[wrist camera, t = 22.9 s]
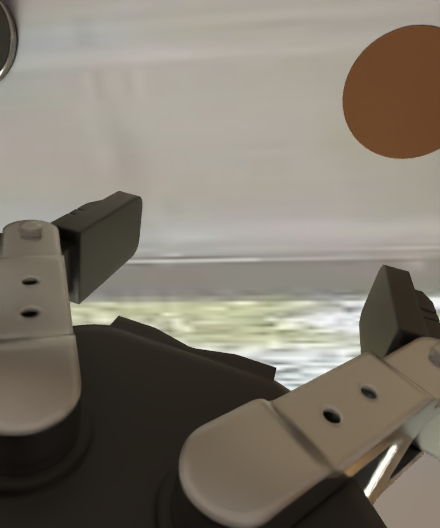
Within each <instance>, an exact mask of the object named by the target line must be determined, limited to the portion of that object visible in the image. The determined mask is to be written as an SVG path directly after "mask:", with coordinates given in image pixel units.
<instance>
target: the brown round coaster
mask: <svg viewBox="0 0 440 528" xmlns="http://www.w3.org/2000/svg"><path fill="white" fill-rule="evenodd" d="M343 110H344V116H345V119H346V123H347V125H348V127H349V129H350V131H351V132H352V134H353V135H354V137H355V138H356V139H357V140H358V141H359V142H360V143H361V144H362V145H363V146H364V147H366V148H367V149H369V150H370V151H372V152H374V153H376V154H379V155H382V156H385V157H390V158H398V159H406V158H414V157H419V156H423V155H426V154H429V153H431V152H433V151H435V150H438V149H439V148H440V28H437V27H433V26H424V25H420V26H409V27H404V28H401V29H397V30H394V31H392V32H390V33H388V34H386V35H384V36H382V37H380V38H379V39H377V40H376V41H375V42H373V43H372V44H371V45H370V46H368V47H367V48H366V49H365V50H364V51H363V52H362V54H361V55H360V56H359V57H358V59H357V60H356V62H355V63H354V65H353V66H352V68H351V70H350V72H349V74H348V77H347V80H346V83H345V87H344V92H343Z"/></svg>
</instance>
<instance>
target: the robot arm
mask: <svg viewBox="0 0 440 528" xmlns="http://www.w3.org/2000/svg"><path fill="white" fill-rule="evenodd" d="M16 45H17V36H16V28H15V24H14V21H13V18H12V15H11V13H10V11H9V9H8V8H7V6H6V5H5V4H4V3H3V1H2V0H0V81H1V80H2V79H3V78H4V77H5V76H6V74H7V73H8V71H9V70H10V68H11V66H12V63H13V61H14V57H15V53H16ZM141 215H142V199H141V197H139V196H136V195H132V194H129V193H125V192H121V191H118V192H116V193H114V194H112V195H110V196H109V197H107V198H105V199H103V200H100V201H95V202H90V203H87V204H85V205H83V206H81V207H79V208H78V210H77V209H75V210H74V211H72V212H70V214H66V215H64V216H62V217H60V218H59V219H57V220H55V221H53V222H51V223H49V222H45V221H39V220H22V221H17V222H13V223H10V224H8V225H7V226H5V227H4V228H3V232H2V233H0V528H387V527H386V525H385V524H384V522H383V521H382V519H381V518H380V516H379V515H378V513H377V511H376V510H375V508H374V507H373V504H374V503H375V501H376V500H377V499H378V498H379V496H380V495H381V494H382V493H383V492H384V491H385V490H386V489H387V488H388V487H389V486H390V485H391V484H393V483H394V482H395V481H396V480H397V479H398V478H399V477H400V476H401V475H402V474H403V473H404V472H405V471H406V470H408V468H410V467H411V466H412V465H413V464H414V463H415V462H416V461H417V460H418V459H419V458H420V457H421V456H422V455H423V454H424V453H425V452H426V453H427V454H429V455H431V456H432V457H434V458H436V459H437V460H439V461H440V323H439V322H440V320H439V318H438V315H437V314H436V310H435V307H434V305H433V302H432V301H431V300H430V299H429V298H428V297H427V296H426V295H425V294H424V293H423V292H422V291H418V290H415V289H414V286H413V283H412V280H411V277H410V274H409V272H408V271H405V270H401V269H397V268H394V267H390V266H387V265H383V266H382V267H381V268H380V270H379V272H378V274H377V277H376V279H375V281H374V284H373V286H372V288H371V291H370V293H369V295H368V298H367V300H366V302H365V305H364V307H363V310H362V313H361V317H360V322H359V330H360V345H361V355H359V356H357V357H355V358H353V359H351V360H349V361H348V362H346V363H344V364H342V365H340V366H338V367H336V368H334V369H332V370H330V371H329V372H327V373H325V374H323V375H321V376H319V377H317V378H315V379H313V380H311V381H310V382H308V383H306V384H304V385H302V386H300V387H298V388H296V389H294V390H292V391H290V390H289V389H287V388H286V387H284V386H283V385H281V384H280V383H278V382H276V381H275V380H274V377H275V372H276V368H275V367H272V366H269V365H266V364H263V363H260V362H257V361H254V360H251V359H248V358H245V357H242V356H239V355H236V354H229V353H222V352H216V351H209V350H202V349H195V348H191V347H189V346H187V345H185V344H183V343H182V342H180V341H178V340H176V339H174V338H173V337H171V336H169V335H167V334H165V333H164V332H162V331H160V330H158V329H156V328H154V327H151V326H148V325H145V324H142V323H139V322H136V321H133V320H130V319H127V318H124V317H121V316H118V317H117V318H116V319H115V320H114V322H113V323H112V324H111V325H97V324H92V325H78V326H72V318H71V310H70V302H69V301H71V302H74V303H77V304H80V303H81V302H82V301H83V300H84V299H86V298H87V297H88V296H89V295H90V294H91V293H92V292H93V291H94V290H96V289H97V288H98V287H99V286H100V285H101V284H102V283H103V282H104V281H106V280H107V279H108V278H109V277H110V276H111V275H112V274H113V273H114V272H116V271H117V270H118V269H119V268H120V267H121V266H122V265H123V264H125V263H126V262H127V261H128V260H129V259H130V258H131V257H132V256H133V255H134V253H135V252H136V250H137V247H138V243H139V237H140V226H141Z"/></svg>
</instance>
